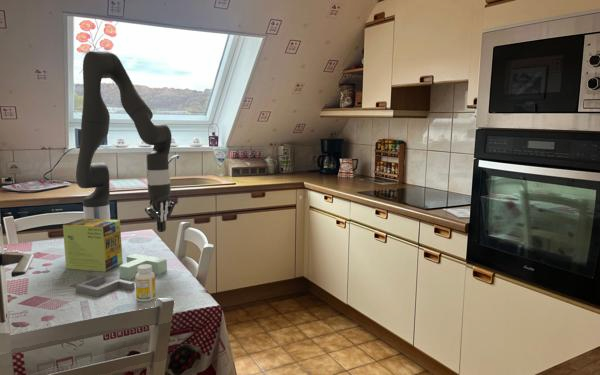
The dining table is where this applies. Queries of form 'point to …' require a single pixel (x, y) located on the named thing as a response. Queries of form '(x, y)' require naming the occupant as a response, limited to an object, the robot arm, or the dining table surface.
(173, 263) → the dining table surface
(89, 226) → the protein box
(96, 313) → the dining table surface
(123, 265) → the t block
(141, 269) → the supplement bottle
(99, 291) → the t dock
